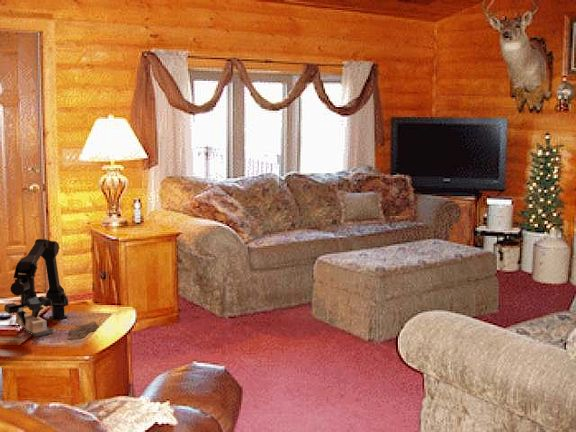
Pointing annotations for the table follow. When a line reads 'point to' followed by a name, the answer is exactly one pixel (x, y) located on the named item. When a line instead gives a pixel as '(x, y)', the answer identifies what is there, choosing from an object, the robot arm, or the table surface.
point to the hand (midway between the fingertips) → (29, 324)
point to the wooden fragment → (82, 331)
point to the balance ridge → (45, 329)
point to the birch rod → (30, 323)
